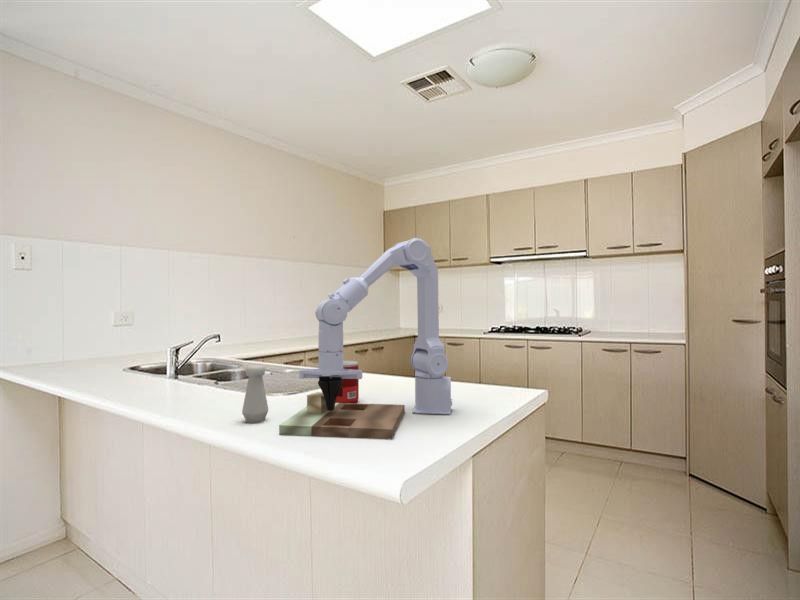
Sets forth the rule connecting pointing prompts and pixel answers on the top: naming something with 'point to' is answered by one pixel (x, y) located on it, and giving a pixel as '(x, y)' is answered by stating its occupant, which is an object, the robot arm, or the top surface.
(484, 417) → the top surface
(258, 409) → the salt shaker
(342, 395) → the canned food
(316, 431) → the trap deck
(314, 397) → the maple block
